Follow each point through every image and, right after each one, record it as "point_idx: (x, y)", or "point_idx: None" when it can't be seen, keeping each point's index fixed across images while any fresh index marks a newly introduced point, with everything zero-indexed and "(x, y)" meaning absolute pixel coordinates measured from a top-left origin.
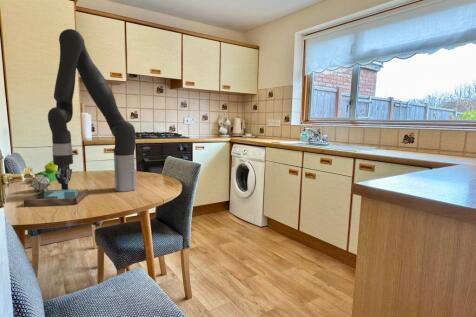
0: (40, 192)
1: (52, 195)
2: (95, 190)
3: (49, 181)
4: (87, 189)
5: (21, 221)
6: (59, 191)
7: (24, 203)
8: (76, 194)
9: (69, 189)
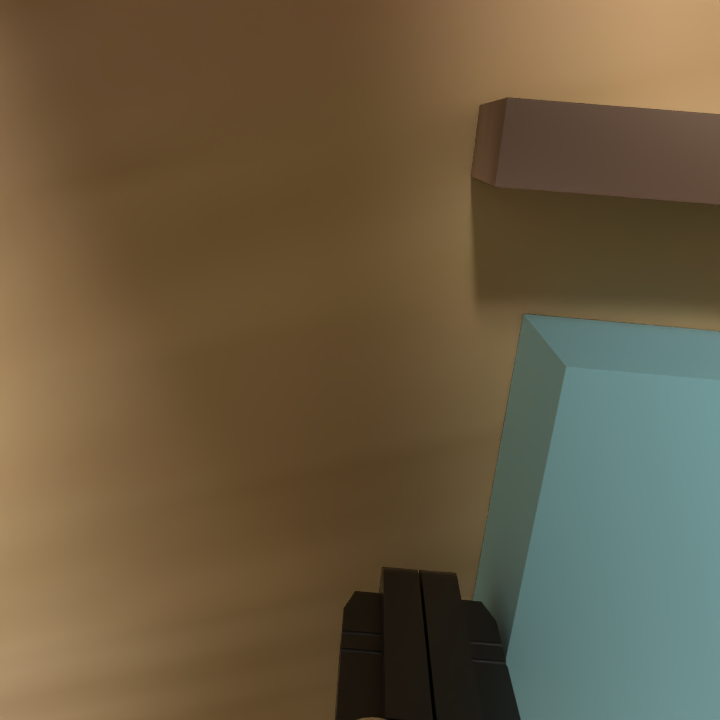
0: None
1: None
2: (35, 6)
3: None
4: (529, 108)
5: None
6: (671, 700)
7: None
8: (662, 342)
9: (529, 558)
